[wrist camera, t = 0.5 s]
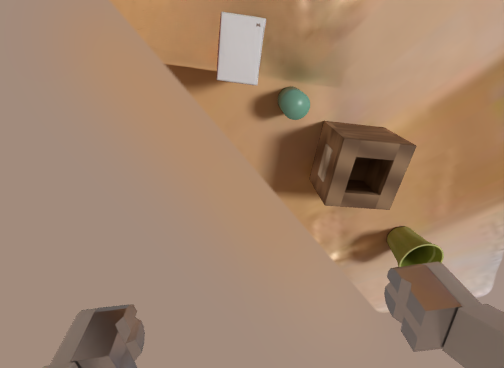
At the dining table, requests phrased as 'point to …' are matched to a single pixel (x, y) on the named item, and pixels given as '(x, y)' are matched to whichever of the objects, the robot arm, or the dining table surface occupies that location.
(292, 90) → the teal rounded cylinder
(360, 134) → the ticket box
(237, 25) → the small box
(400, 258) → the plant pot
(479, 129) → the dining table surface
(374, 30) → the dining table surface
